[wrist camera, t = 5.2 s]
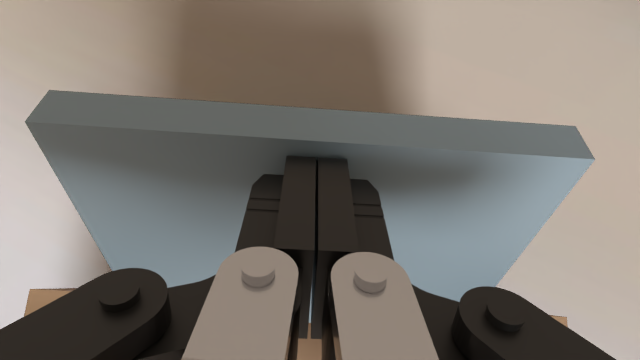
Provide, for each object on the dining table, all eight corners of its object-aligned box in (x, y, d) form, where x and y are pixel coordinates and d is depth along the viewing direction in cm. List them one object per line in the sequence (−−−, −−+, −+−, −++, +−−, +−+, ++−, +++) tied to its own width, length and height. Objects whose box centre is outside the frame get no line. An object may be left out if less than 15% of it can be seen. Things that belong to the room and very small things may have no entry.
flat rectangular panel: (460, 330, 17) (595, 159, 10) (137, 314, 17) (25, 121, 9) (450, 280, 19) (559, 100, 11) (154, 264, 18) (68, 65, 11)
